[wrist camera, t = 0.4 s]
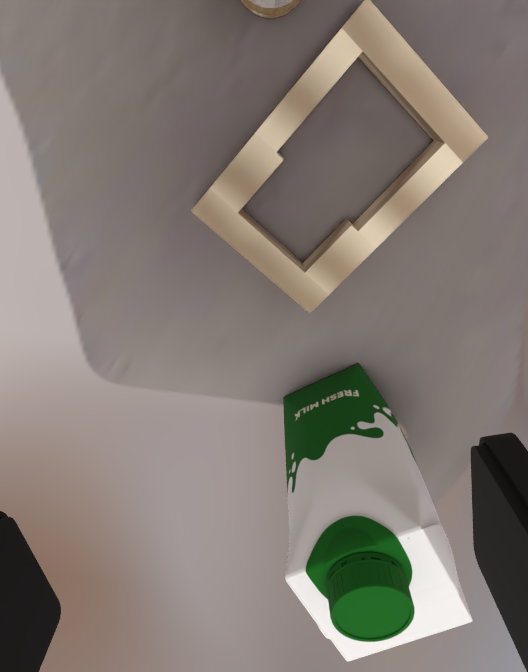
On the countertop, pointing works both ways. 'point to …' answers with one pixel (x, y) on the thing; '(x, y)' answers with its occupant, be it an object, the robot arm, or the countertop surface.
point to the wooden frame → (390, 207)
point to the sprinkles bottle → (270, 7)
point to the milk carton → (363, 522)
